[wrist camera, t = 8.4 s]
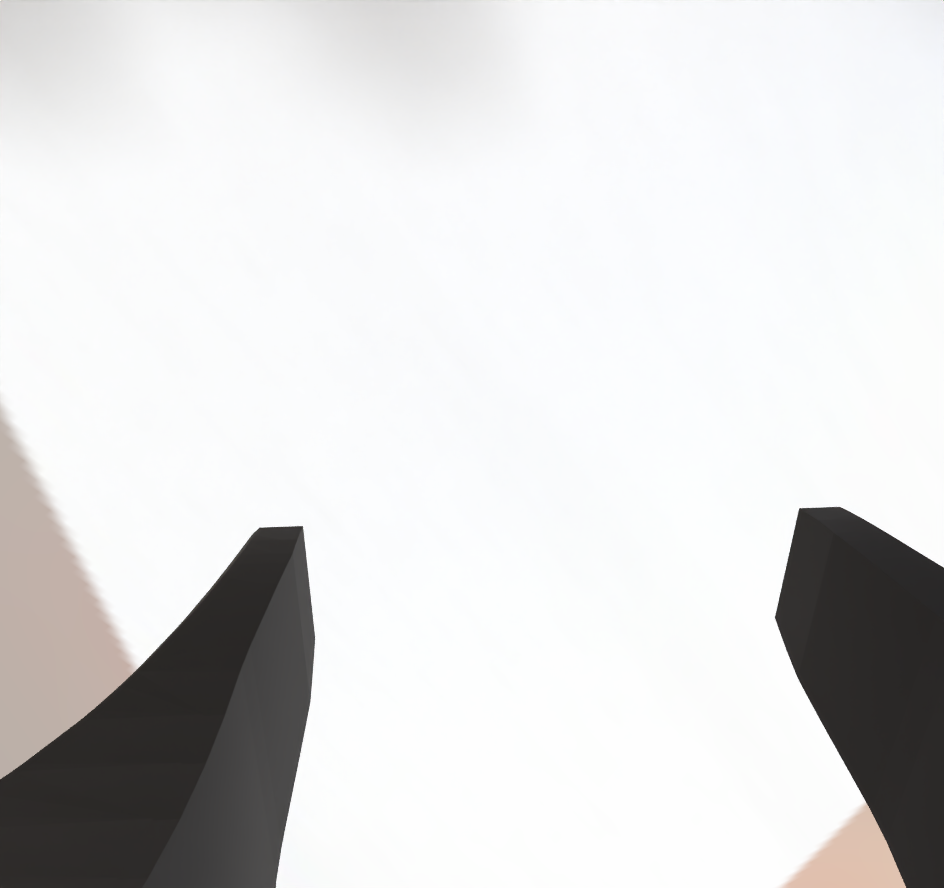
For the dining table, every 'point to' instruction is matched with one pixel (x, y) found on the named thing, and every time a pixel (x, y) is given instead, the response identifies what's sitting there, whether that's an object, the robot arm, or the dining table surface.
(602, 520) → the dining table surface
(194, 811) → the robot arm
